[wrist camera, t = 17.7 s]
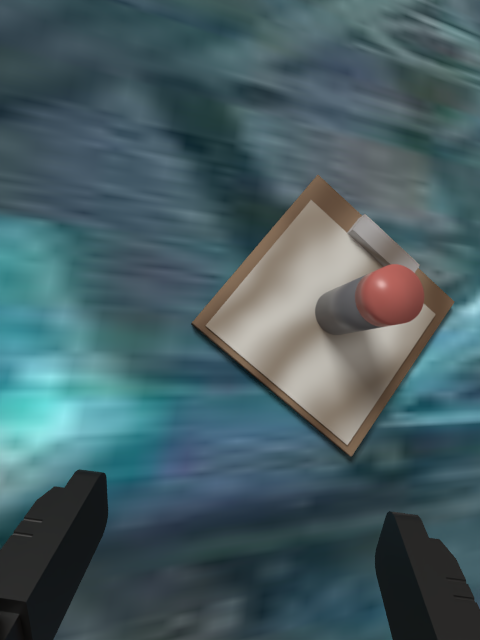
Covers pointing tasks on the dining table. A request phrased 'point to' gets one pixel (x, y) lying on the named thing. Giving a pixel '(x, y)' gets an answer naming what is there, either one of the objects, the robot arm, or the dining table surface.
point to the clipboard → (301, 324)
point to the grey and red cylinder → (371, 301)
